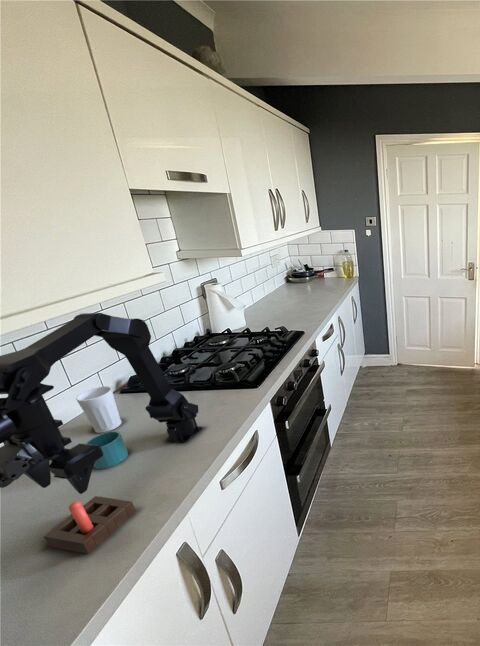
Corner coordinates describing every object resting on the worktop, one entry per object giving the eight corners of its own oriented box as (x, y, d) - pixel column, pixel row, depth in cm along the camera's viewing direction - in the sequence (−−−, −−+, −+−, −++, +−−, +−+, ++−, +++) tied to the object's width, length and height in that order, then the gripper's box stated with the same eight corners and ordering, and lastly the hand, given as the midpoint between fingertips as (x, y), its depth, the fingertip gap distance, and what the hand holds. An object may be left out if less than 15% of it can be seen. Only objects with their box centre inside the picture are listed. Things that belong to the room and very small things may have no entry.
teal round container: (114, 448, 98) (105, 430, 96) (135, 451, 97) (127, 432, 95) (86, 467, 92) (76, 447, 89) (108, 470, 91) (99, 450, 88)
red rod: (93, 534, 74) (74, 498, 70) (100, 535, 73) (82, 499, 70) (84, 541, 72) (64, 506, 68) (91, 543, 72) (72, 507, 68)
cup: (121, 415, 114) (108, 383, 109) (127, 424, 109) (114, 391, 104) (89, 427, 108) (73, 394, 103) (94, 438, 103) (78, 404, 99)
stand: (100, 505, 80) (95, 495, 79) (136, 511, 79) (131, 501, 78) (49, 546, 71) (43, 536, 70) (88, 554, 69) (82, 543, 68)
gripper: (-73, 448, 58) (-27, 517, 63) (12, 461, 54) (53, 533, 60) (13, 409, 68) (47, 471, 73) (90, 418, 64) (119, 482, 70)
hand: (65, 489), depth 69 cm, fingers open, 9 cm apart
